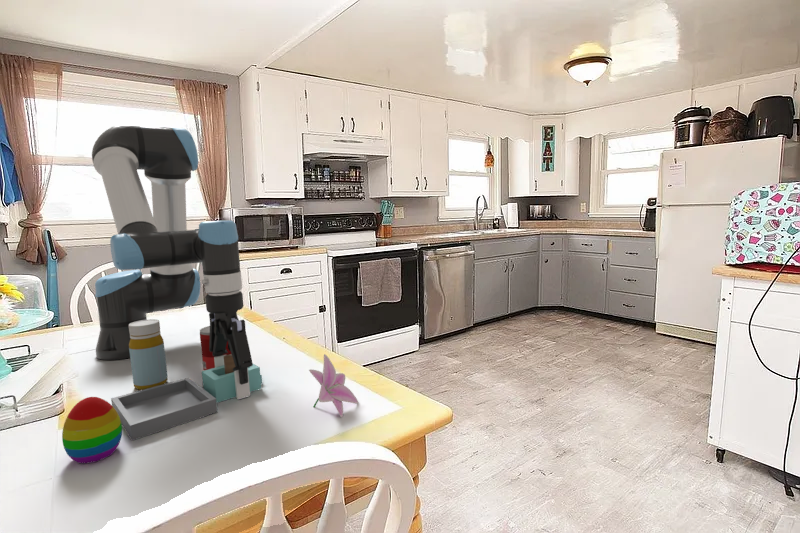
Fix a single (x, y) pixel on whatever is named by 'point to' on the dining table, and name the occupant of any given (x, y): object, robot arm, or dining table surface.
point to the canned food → (206, 354)
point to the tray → (163, 407)
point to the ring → (228, 382)
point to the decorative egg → (91, 430)
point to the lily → (333, 386)
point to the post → (229, 364)
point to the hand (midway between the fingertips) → (232, 389)
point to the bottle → (147, 354)
